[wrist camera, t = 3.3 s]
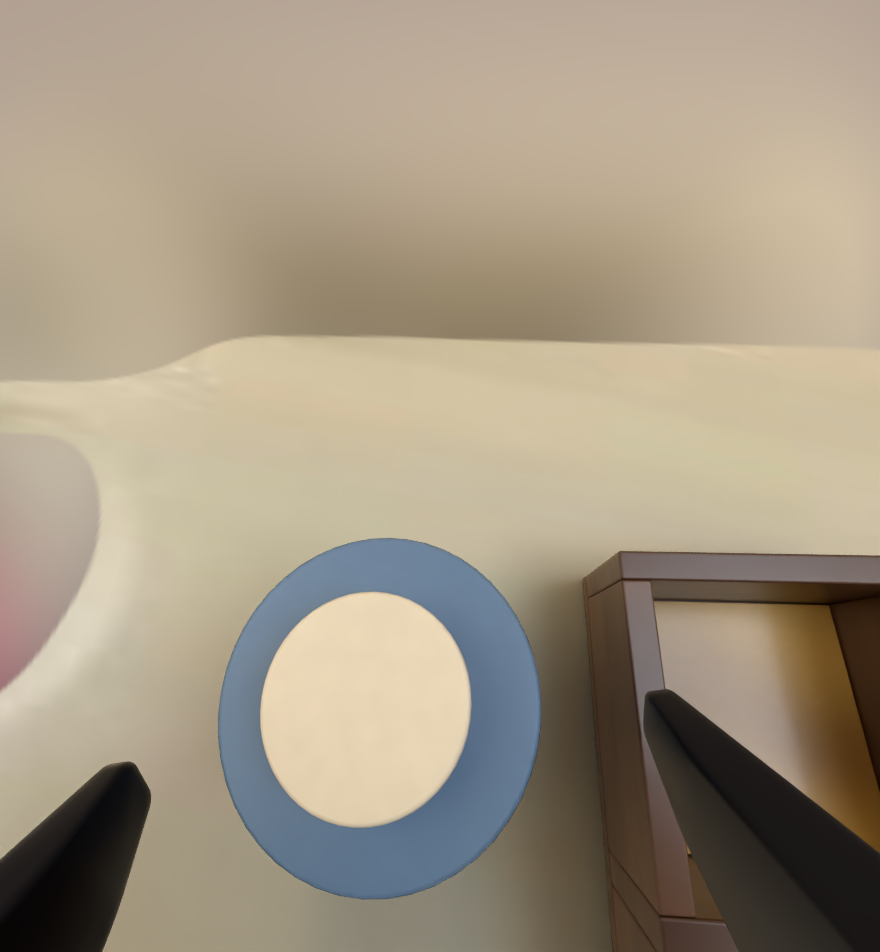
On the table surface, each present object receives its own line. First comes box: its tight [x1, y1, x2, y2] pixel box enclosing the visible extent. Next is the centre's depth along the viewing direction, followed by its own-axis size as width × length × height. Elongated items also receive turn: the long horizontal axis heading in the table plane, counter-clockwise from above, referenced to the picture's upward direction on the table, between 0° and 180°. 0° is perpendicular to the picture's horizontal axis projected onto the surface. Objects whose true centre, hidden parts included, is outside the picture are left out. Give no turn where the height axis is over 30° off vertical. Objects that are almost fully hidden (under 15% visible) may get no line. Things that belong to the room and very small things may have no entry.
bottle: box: [218, 538, 541, 899], centre depth 11 cm, size 5×5×10 cm
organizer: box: [583, 551, 880, 952], centre depth 12 cm, size 17×9×4 cm, turn 178°
